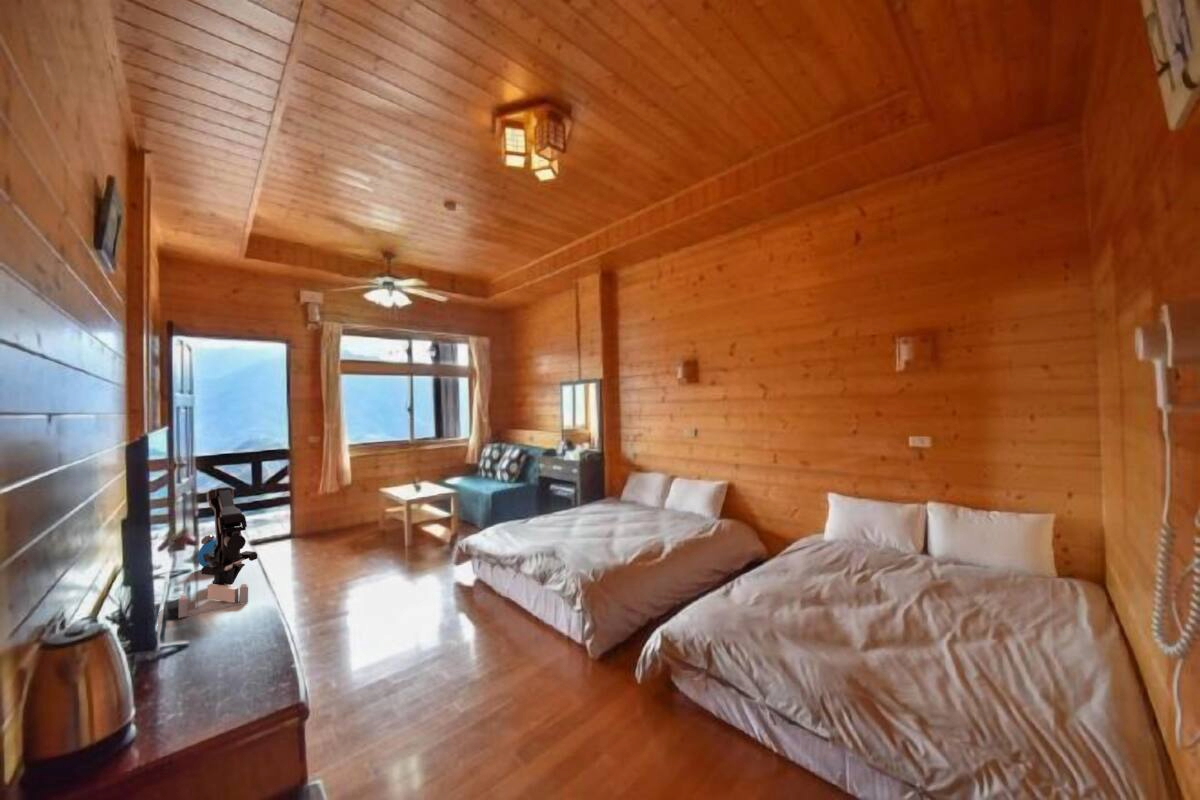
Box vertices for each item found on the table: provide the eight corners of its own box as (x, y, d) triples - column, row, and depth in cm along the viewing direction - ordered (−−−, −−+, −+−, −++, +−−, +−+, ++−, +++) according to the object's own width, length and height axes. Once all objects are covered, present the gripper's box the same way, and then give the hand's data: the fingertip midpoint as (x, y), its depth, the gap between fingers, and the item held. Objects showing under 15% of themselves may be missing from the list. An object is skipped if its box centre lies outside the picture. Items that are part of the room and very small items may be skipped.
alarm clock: (236, 563, 215) (237, 530, 215) (235, 567, 210) (235, 534, 210) (199, 568, 208) (200, 534, 208) (197, 572, 203) (197, 538, 203)
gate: (211, 597, 178) (211, 583, 178) (239, 601, 175) (239, 587, 175) (207, 599, 176) (207, 585, 176) (235, 603, 173) (235, 589, 173)
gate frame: (178, 615, 165) (178, 595, 165) (247, 600, 177) (247, 581, 177) (178, 618, 162) (178, 598, 162) (248, 603, 175) (248, 584, 175)
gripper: (235, 536, 193) (234, 573, 193) (188, 551, 174) (188, 592, 175) (258, 538, 191) (258, 576, 191) (214, 553, 173) (214, 595, 173)
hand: (230, 584), depth 183 cm, fingers closed
